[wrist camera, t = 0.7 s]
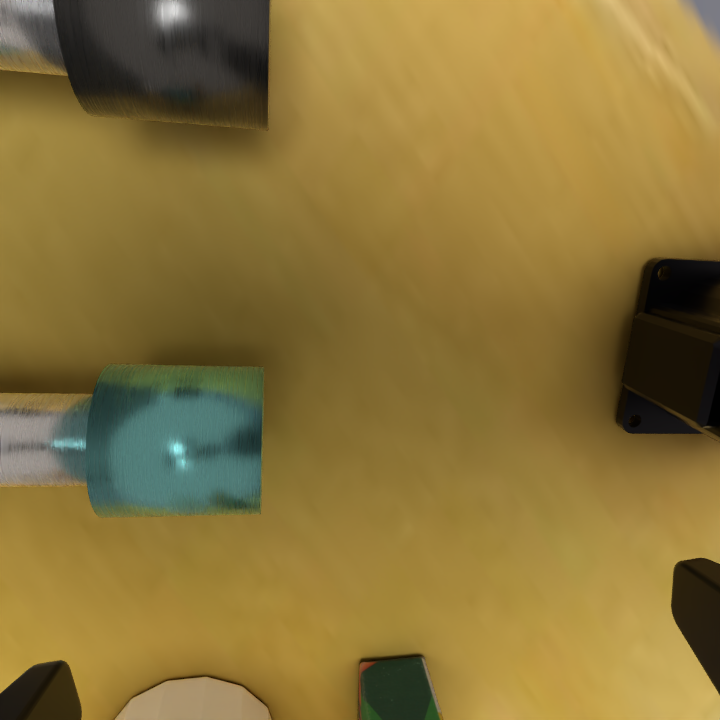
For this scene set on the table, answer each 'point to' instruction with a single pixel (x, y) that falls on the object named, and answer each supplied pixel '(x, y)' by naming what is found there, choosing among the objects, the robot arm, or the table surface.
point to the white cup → (195, 702)
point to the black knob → (149, 56)
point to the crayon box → (397, 691)
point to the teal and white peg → (144, 440)
